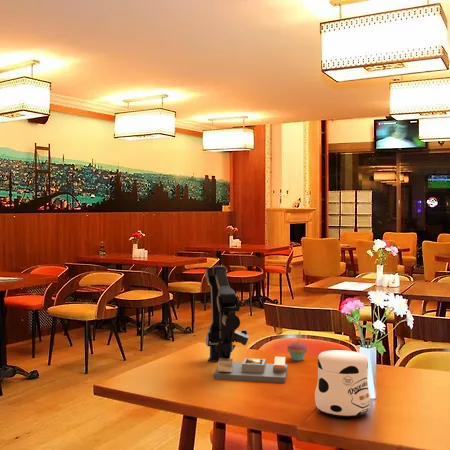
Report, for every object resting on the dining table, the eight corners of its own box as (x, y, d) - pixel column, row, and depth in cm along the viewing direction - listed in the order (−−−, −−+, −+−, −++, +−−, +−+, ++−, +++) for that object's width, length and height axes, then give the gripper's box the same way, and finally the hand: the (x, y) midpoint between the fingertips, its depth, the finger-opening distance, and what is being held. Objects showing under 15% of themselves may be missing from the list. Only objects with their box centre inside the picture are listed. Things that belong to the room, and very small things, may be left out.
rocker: (275, 359, 230) (275, 356, 230) (285, 360, 230) (285, 356, 230) (274, 368, 224) (274, 364, 223) (284, 368, 223) (284, 365, 223)
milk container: (372, 423, 177) (373, 364, 176) (314, 420, 180) (314, 361, 179) (367, 404, 194) (368, 350, 193) (314, 401, 197) (315, 348, 196)
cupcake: (293, 355, 257) (293, 328, 256) (310, 358, 252) (311, 330, 251) (283, 359, 250) (283, 331, 249) (301, 363, 245) (301, 334, 244)
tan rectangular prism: (219, 368, 227) (219, 358, 227) (232, 369, 227) (232, 358, 226) (218, 371, 223) (218, 360, 223) (231, 371, 223) (231, 361, 222)
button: (248, 365, 231) (248, 358, 231) (261, 366, 230) (261, 358, 230) (246, 369, 226) (246, 361, 226) (259, 369, 225) (259, 362, 225)
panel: (220, 366, 239) (220, 354, 239) (287, 369, 235) (287, 356, 235) (213, 379, 222) (213, 366, 221) (285, 382, 218) (285, 369, 217)
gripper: (244, 330, 218) (244, 372, 218) (250, 320, 236) (250, 359, 237) (215, 329, 219) (215, 371, 220) (222, 320, 238) (222, 358, 238)
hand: (227, 364), depth 229 cm, fingers closed
